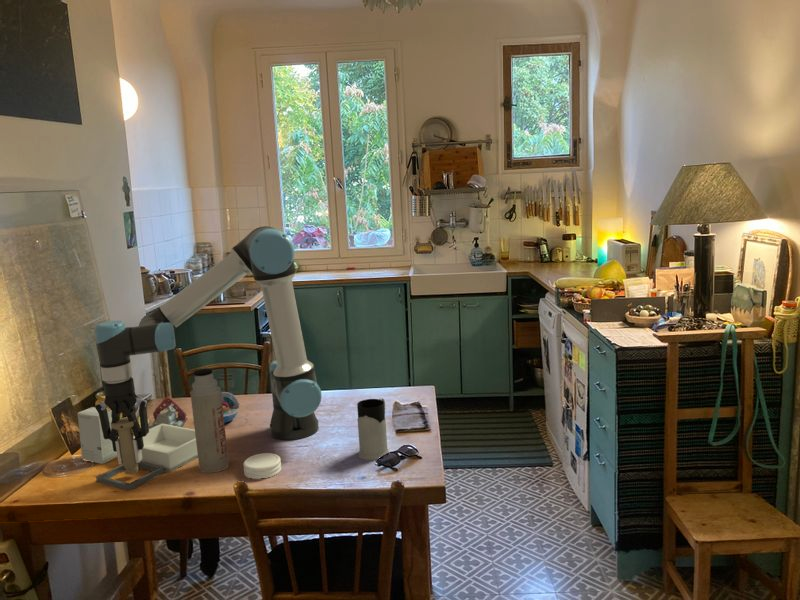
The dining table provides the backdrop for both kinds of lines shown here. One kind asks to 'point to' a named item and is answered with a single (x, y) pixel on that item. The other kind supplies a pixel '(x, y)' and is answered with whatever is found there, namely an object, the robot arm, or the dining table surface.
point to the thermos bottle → (209, 422)
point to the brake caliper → (168, 414)
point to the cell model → (229, 406)
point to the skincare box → (94, 437)
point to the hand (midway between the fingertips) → (130, 461)
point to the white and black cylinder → (372, 429)
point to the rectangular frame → (155, 472)
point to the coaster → (262, 466)
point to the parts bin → (169, 446)
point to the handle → (126, 444)
